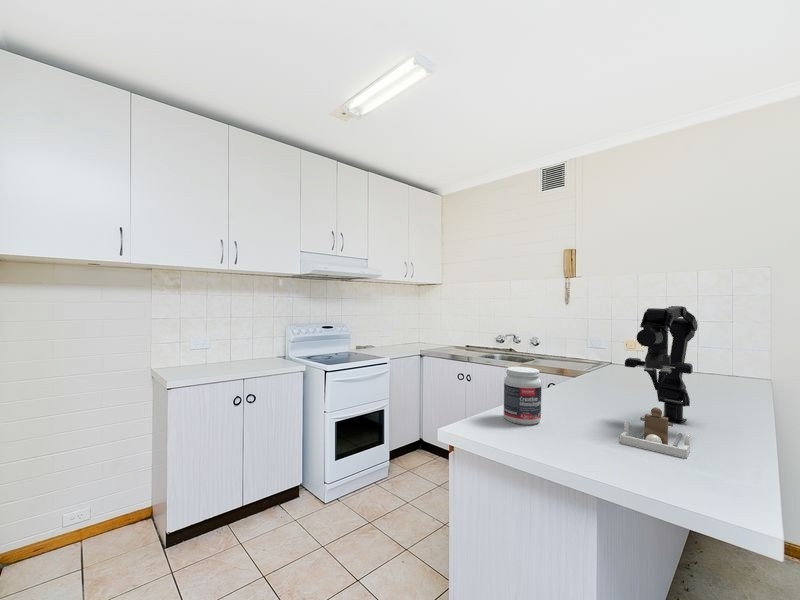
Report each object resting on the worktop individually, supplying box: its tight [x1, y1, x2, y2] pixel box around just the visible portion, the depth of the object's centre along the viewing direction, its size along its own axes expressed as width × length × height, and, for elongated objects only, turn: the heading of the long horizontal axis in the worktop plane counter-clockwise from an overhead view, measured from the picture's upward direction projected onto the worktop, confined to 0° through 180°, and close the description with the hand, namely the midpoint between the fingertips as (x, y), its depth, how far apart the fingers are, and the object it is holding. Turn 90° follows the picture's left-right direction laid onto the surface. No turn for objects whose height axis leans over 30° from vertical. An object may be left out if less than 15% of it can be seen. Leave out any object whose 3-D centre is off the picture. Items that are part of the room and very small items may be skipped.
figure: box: [639, 407, 674, 445], centre depth 112 cm, size 4×8×11 cm, turn 47°
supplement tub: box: [503, 366, 542, 426], centre depth 136 cm, size 13×13×18 cm
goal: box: [619, 421, 691, 459], centre depth 110 cm, size 7×16×5 cm, turn 47°
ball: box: [645, 434, 662, 444], centre depth 110 cm, size 4×4×4 cm
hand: (657, 390), depth 129 cm, fingers closed
